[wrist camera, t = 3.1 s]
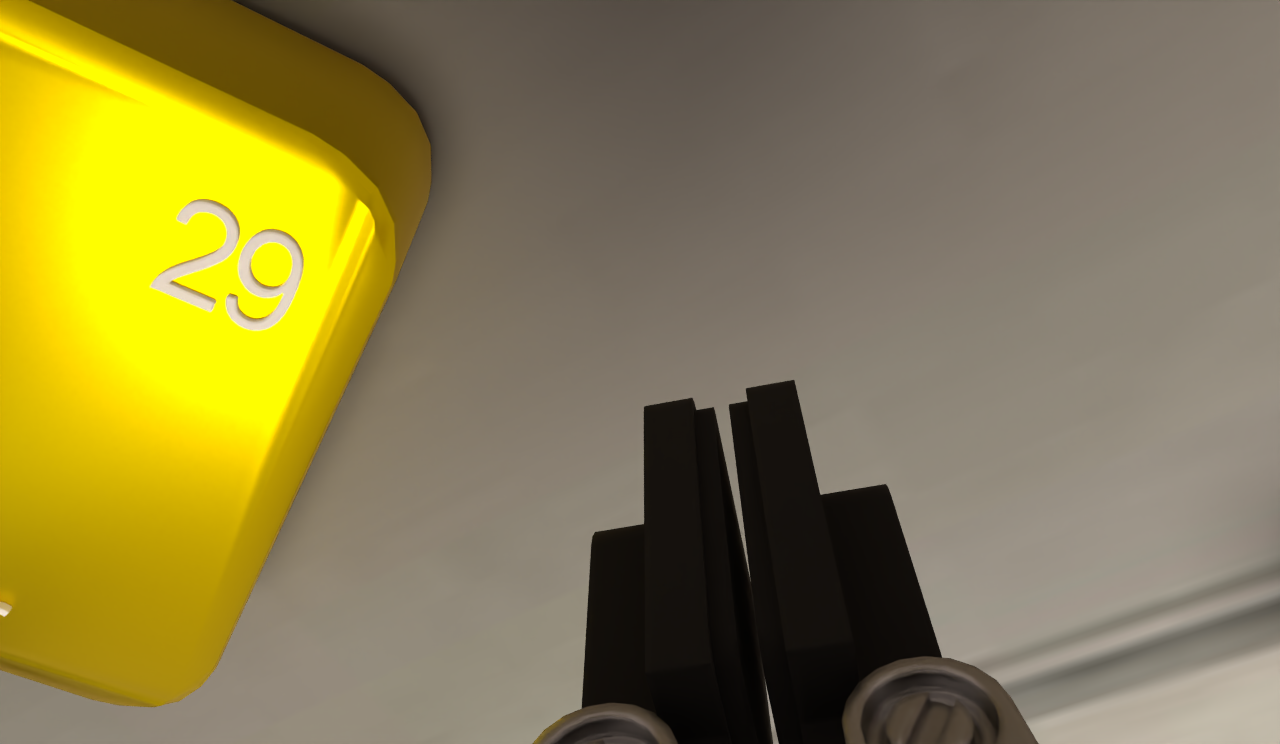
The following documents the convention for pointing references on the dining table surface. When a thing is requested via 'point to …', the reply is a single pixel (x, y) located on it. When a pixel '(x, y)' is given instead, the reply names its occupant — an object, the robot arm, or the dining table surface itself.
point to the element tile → (175, 317)
